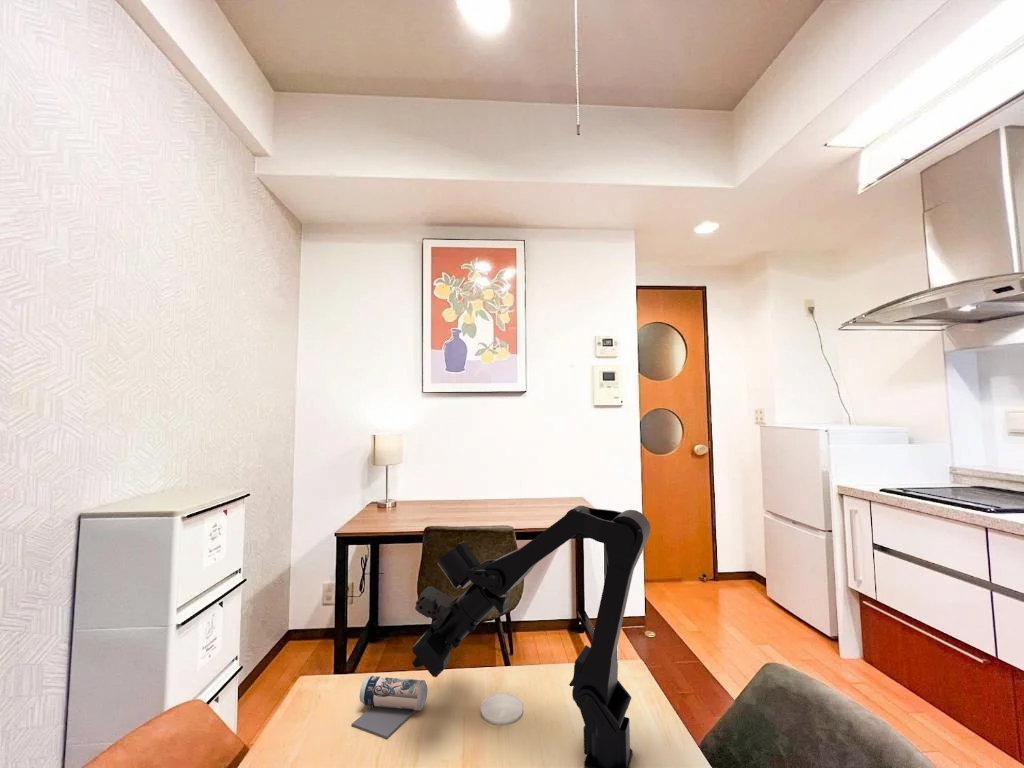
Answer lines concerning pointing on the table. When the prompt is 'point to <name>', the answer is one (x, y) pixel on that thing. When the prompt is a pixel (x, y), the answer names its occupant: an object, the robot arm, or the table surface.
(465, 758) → the table surface
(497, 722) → the coaster
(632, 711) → the table surface
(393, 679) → the beer can
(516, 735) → the table surface
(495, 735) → the table surface
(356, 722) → the mat
